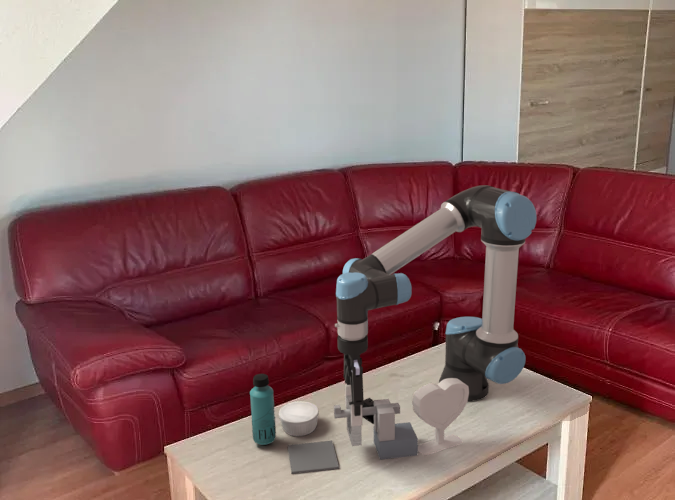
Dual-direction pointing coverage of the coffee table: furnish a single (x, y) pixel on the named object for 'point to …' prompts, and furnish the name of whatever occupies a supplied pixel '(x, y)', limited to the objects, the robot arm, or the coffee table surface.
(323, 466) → the mat
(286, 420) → the ramekin
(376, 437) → the vise
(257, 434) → the beverage bottle
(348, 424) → the ring
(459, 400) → the heart sculpture
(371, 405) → the black phone stand
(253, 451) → the coffee table surface
